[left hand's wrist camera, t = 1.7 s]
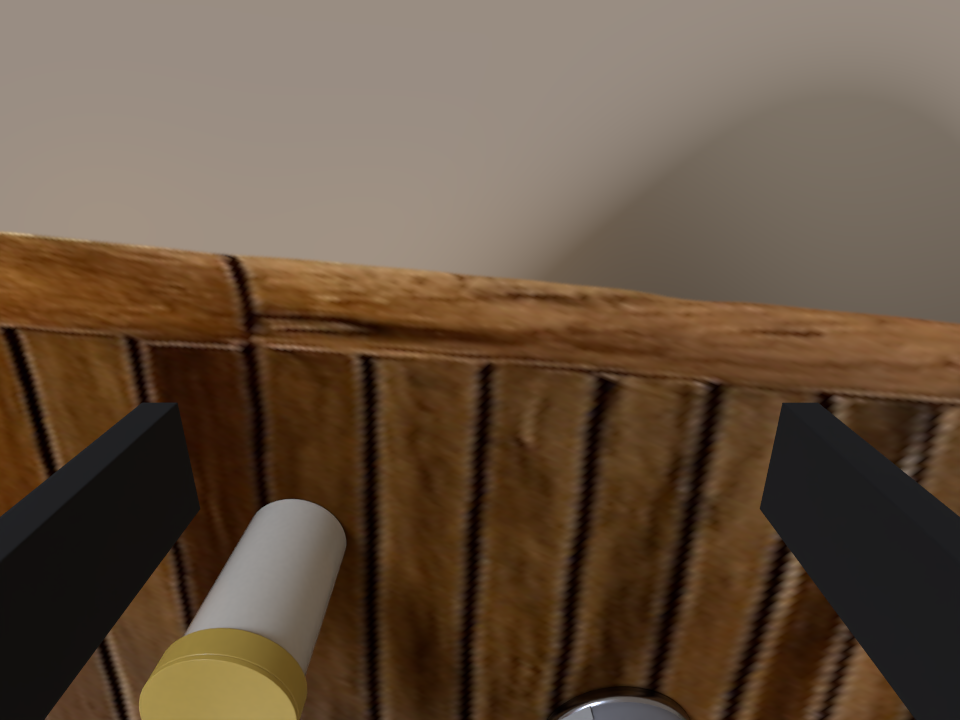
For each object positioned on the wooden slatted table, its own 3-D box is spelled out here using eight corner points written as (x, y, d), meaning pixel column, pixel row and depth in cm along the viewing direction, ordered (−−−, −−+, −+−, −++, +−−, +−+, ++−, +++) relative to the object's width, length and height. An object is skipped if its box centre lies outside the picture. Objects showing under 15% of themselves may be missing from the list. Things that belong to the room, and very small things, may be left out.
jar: (351, 577, 49) (299, 756, 35) (256, 578, 50) (167, 757, 35) (341, 498, 46) (280, 658, 32) (240, 499, 47) (136, 659, 32)
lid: (315, 732, 37) (305, 768, 35) (175, 734, 37) (157, 769, 35) (297, 626, 34) (285, 659, 32) (143, 627, 34) (121, 660, 32)
